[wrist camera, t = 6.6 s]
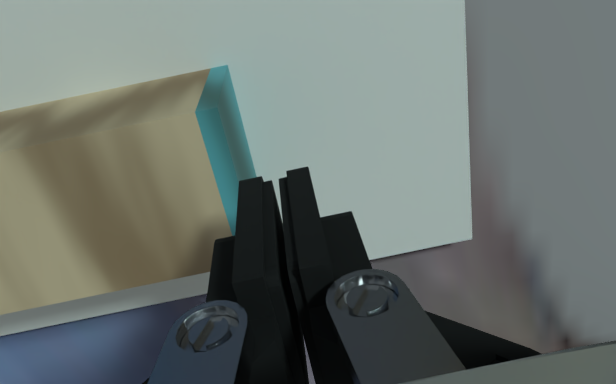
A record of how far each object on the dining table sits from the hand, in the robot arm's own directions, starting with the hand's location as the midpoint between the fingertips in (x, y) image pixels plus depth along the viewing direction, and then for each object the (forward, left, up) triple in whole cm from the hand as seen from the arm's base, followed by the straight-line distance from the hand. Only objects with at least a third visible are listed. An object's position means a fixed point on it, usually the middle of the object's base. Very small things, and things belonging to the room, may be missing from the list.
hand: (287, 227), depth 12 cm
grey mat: (+4, 0, -8) cm, 9 cm away
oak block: (+1, 0, -5) cm, 5 cm away
